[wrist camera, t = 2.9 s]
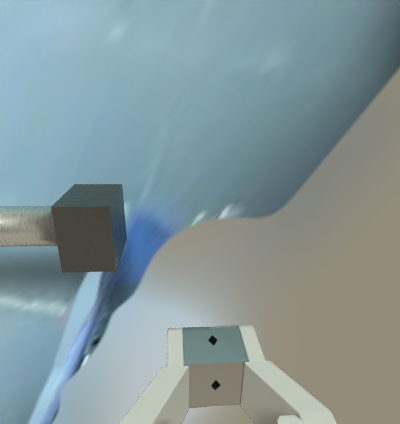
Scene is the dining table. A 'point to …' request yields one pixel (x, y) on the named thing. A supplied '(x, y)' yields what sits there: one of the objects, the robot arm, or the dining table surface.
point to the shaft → (72, 227)
